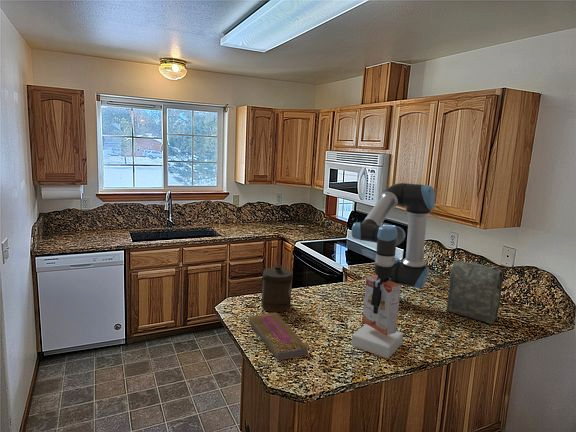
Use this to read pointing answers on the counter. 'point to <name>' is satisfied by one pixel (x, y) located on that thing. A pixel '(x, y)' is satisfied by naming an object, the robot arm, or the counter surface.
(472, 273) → the bag
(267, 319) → the brown and pink box
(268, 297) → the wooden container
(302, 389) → the counter surface
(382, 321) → the cracker box
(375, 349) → the marble slab
